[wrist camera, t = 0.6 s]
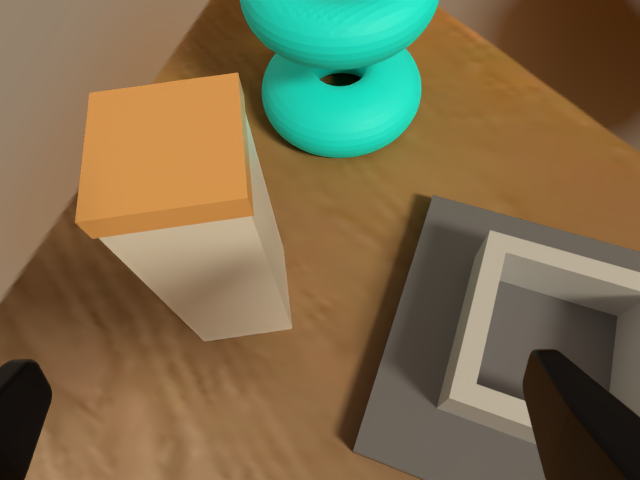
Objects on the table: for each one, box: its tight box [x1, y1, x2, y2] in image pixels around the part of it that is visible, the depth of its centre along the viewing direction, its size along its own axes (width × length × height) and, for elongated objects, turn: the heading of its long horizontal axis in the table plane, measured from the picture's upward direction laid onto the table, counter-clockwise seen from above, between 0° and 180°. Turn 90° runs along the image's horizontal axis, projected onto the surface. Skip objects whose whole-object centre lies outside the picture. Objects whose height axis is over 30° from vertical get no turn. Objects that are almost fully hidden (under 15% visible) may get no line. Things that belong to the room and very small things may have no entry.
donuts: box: [240, 0, 439, 158], centre depth 27 cm, size 10×10×10 cm
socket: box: [353, 195, 640, 480], centre depth 22 cm, size 14×14×4 cm
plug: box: [75, 73, 292, 342], centre depth 20 cm, size 5×5×13 cm
